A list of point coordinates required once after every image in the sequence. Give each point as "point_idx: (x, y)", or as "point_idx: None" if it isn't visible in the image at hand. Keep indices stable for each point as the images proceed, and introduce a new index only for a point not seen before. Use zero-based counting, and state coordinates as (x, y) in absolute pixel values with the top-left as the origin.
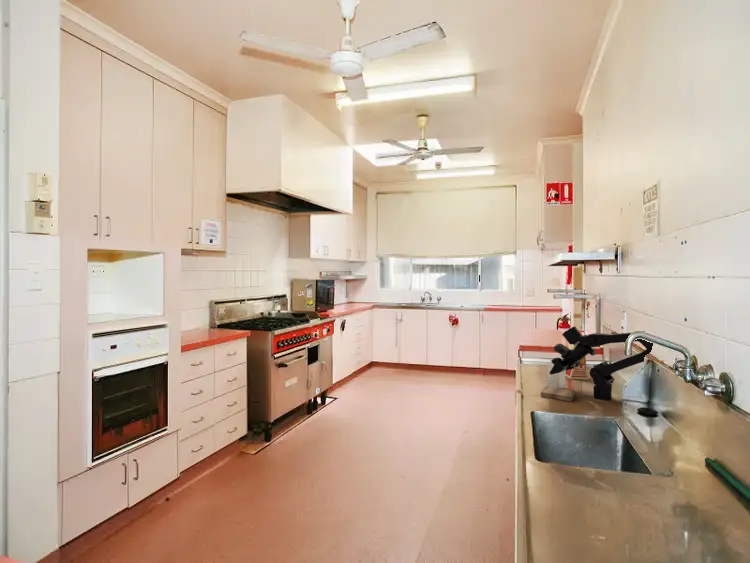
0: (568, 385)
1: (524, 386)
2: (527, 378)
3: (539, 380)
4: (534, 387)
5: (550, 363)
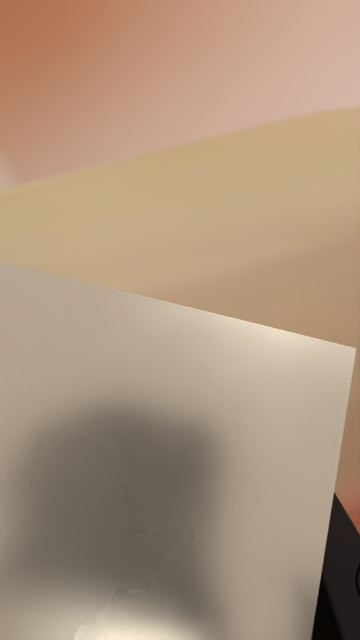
0: (350, 517)
1: (34, 185)
2: (339, 133)
3: (344, 232)
4: (49, 259)
5: (97, 320)
